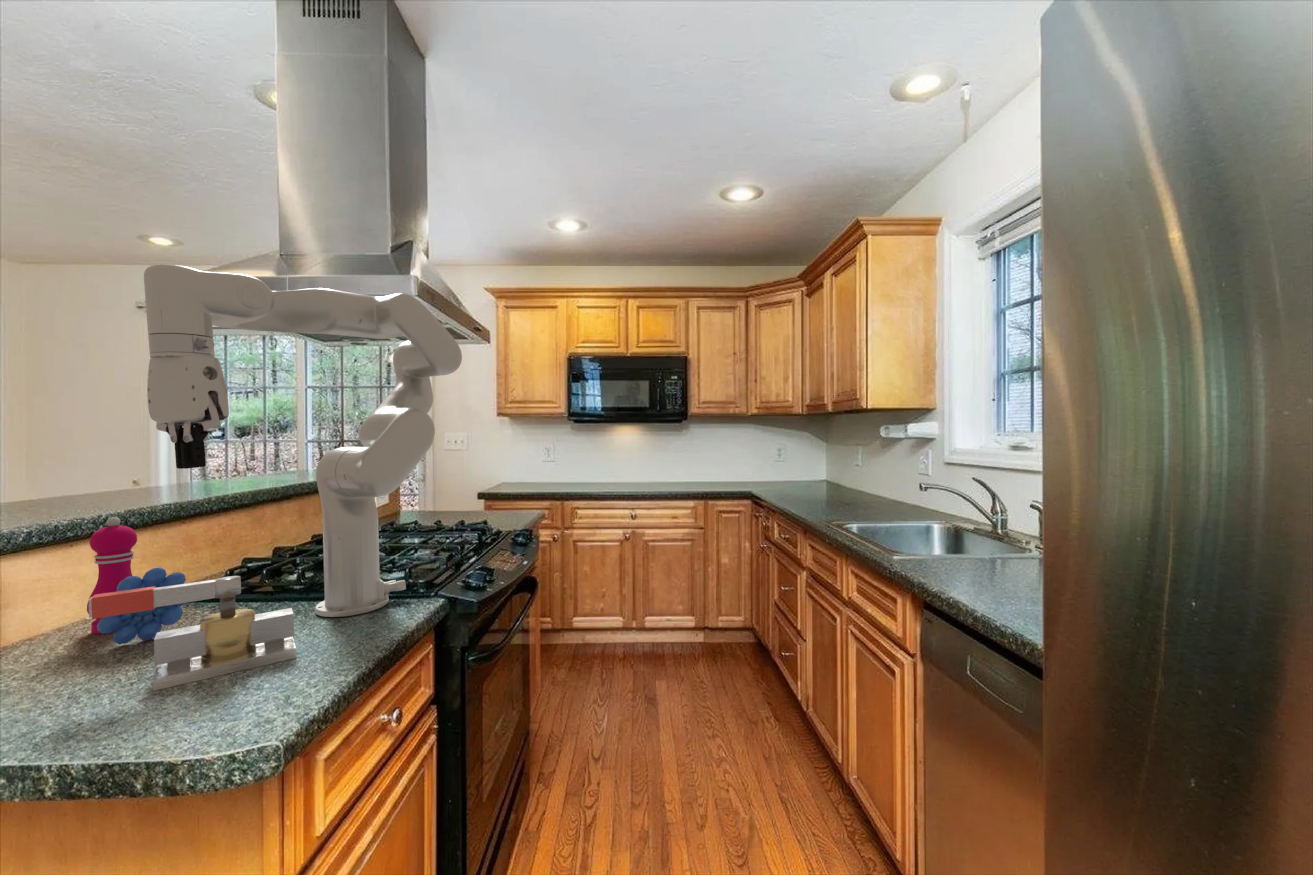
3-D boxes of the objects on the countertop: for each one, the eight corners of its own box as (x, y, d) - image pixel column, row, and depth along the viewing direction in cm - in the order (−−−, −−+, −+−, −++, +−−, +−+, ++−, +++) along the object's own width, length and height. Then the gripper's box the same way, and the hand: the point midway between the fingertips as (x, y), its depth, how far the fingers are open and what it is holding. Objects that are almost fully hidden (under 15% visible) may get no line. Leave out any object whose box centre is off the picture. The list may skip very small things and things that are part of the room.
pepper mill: (153, 618, 101) (150, 512, 100) (129, 632, 94) (126, 518, 94) (104, 623, 98) (101, 515, 98) (76, 637, 92) (72, 521, 91)
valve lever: (241, 591, 82) (240, 573, 82) (240, 596, 80) (240, 577, 80) (93, 614, 73) (92, 593, 73) (87, 620, 70) (86, 599, 70)
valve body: (291, 640, 89) (289, 580, 89) (296, 657, 82) (294, 593, 82) (160, 668, 79) (158, 601, 79) (153, 690, 72) (150, 617, 72)
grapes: (190, 624, 97) (188, 558, 97) (194, 633, 92) (192, 564, 92) (97, 643, 89) (95, 571, 89) (97, 655, 84) (95, 579, 84)
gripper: (246, 349, 85) (254, 464, 85) (169, 354, 87) (177, 466, 88) (197, 343, 77) (206, 469, 78) (115, 349, 80) (125, 471, 81)
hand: (191, 467), depth 83 cm, fingers closed
